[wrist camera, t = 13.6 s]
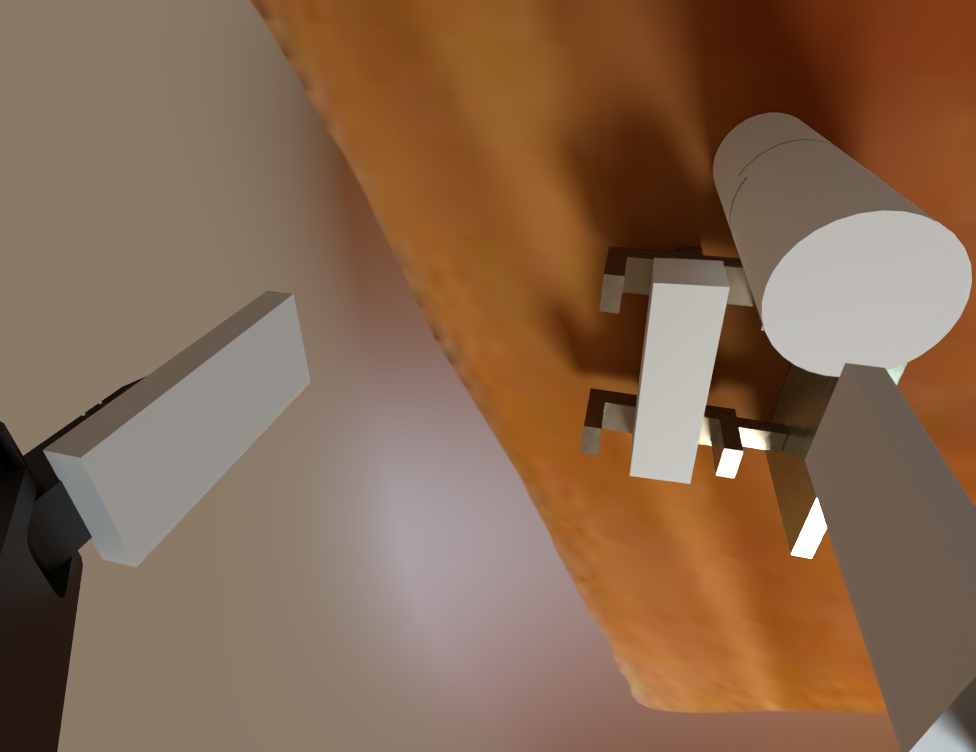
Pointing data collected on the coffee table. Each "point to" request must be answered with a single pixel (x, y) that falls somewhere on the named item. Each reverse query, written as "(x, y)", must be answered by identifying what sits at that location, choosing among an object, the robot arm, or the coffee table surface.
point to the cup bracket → (720, 425)
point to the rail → (677, 365)
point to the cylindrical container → (835, 250)
